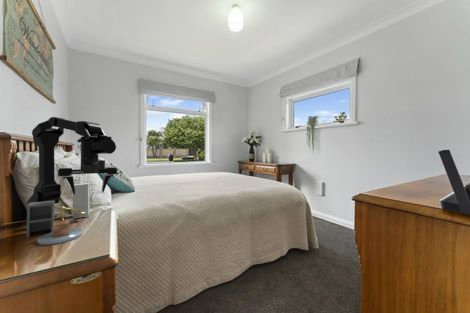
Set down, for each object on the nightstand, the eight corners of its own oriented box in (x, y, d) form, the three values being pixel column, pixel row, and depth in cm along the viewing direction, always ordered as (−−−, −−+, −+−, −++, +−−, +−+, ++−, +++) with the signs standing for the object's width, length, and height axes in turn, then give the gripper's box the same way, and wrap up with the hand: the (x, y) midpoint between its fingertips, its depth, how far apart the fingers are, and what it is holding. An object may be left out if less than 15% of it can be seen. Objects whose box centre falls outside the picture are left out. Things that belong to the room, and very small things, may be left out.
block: (52, 238, 64) (52, 225, 64) (52, 234, 67) (53, 222, 67) (69, 235, 67) (69, 222, 67) (68, 231, 70) (68, 220, 70)
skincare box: (88, 217, 91) (89, 184, 92) (71, 219, 88) (72, 184, 88) (89, 213, 98) (90, 182, 99) (73, 214, 95) (74, 183, 95)
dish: (53, 233, 71) (53, 230, 71) (88, 231, 73) (88, 228, 73) (27, 246, 61) (27, 242, 61) (69, 243, 63) (69, 240, 63)
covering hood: (29, 217, 72) (29, 202, 73) (54, 214, 77) (54, 200, 77) (26, 221, 67) (27, 205, 67) (53, 218, 72) (53, 203, 72)
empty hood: (29, 232, 72) (29, 217, 72) (54, 228, 77) (54, 214, 77) (26, 237, 67) (26, 221, 67) (53, 233, 72) (53, 218, 72)
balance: (34, 228, 76) (34, 207, 76) (35, 225, 80) (36, 205, 80) (86, 220, 86) (86, 202, 86) (85, 218, 90) (85, 200, 90)
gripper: (58, 152, 69) (57, 199, 68) (120, 154, 81) (119, 193, 80) (58, 153, 77) (58, 194, 77) (115, 154, 89) (114, 190, 89)
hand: (89, 193), depth 81 cm, fingers open, 9 cm apart
